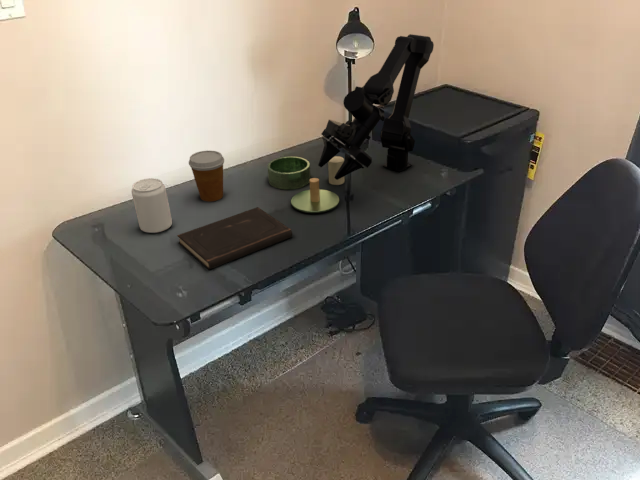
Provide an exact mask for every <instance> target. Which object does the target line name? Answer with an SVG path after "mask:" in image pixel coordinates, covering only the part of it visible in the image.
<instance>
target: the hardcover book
mask: <svg viewBox="0 0 640 480" xmlns="http://www.w3.org/2000/svg"><path fill="white" fill-rule="evenodd" d="M176 237H178V238H179V239H178V240H179V241H178V244H179V245H180V246H182V247H183V248H184V249H185V250H186V251H187V253H189V254H191V255H192V256H193V257H194V258H195V259H196V260H198V262H199V263H200V264H202V265H203V266H204V267H205V268H206V269H207V270H210V271H211V270H212V269H214V268H217V267H219V266H222V265H225V264H227V263H230V262H233V261H235V260H238V259H240V258H242V257H245V256H248V255H250V254H252V253H255V252H257V251H260V250H263V249H265V248H269V247H270V246H273V245H275V244H278V243H281V242H282V241H285V240H288V239H291V238H293V231H292V229H291V228H289V227H288V226H287V225H285V224H283V223H282V222H281V221H280V220H278V219H276V218H275V217H273V216H272V215H271V214H269V213H267V212H266V211H264V209H262V208H260V207H259V206H256V207H254V208H251V209H248V210H245V211H242V212H239V213H237V214H234V215H230V216H228V217H225V218H223V219H219V220H217V221H214V222H211V223H209V224H208V223H207V224H205V225H202V226H199V227H197V228H194V229H191V230H188V231H185V232H183V233H180V234H177V236H176Z"/></svg>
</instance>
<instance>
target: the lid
mask: <svg viewBox="0 0 640 480" xmlns="http://www.w3.org/2000/svg"><path fill="white" fill-rule="evenodd" d="M290 204H291V206H292V208H294V210H296V211H298V212H299V211H300V212H302V213H306V214H307V213H308V214H320V213H326V212H329V211H332V210H334V209H335V208H337V206H339V204H340V197H339V195H338V194H336V193H335V192H333V191H330V190H327V189H320V179H319V178H317V177H312V178H310V180H309V189H306V190H302V191H300V192H297V193H295V194H294V195H293V196H292V198H291V200H290Z"/></svg>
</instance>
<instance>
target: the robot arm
mask: <svg viewBox="0 0 640 480" xmlns="http://www.w3.org/2000/svg"><path fill="white" fill-rule="evenodd" d="M434 46H435V44H434V41H433V40H432V38H431V37H430V36H426V35H421V34H420V35H419V34H413V33H410V34H408V35H407V36H404V35H400V36H397V37H395V41H394V45H393V47H392V49H391V51H390V52H389V53H388V56H387V57H386V59H385V60H384V62H383V64H382V65H381V67H380V69H379V71H377V73H375V74H373V75H371V76H370V77H369V78H368V79H367V80H366V82H365V83H364V85H363V86H355V88H354V90H351V91H350V92H348V93H347V94H346V95H345V96H344V98H343V101H342V102H343V107H344V109H346V111H347V112H348V113H349V114H350V115H351V117H353V119H352V120H347V121H345V122H340V121H336V120H332V119H328V121H327V123H326V126H325V128H324V129H323V131H322V132H321V133H320V135H321V136H322V137H321V140H322V141H323V149H322V151H321V156H320V158H319V161H318V163H317V166H318V167H319V168H323V167H324V166H326V165H327V164H328V162H329V161H330V160H331V159H332V158H333V157H334V156H338V154H339V153H340V152H341V150H340V149H344V151H346V152H344V162H343V164H342V165H341V167H340V168H339V170H338V172H337V173H336V175H335V177H334V178H335V179H336V180H338V179H340V178H342V177H344V178H345V177H346V176H348V175H349V174H351V173H354V172H356V171H358V170H360V169H364V168H365V167H366V169H368V168H369V167H370V165H371V164H372V163H373V162H372V161H373V157H372V156H370V155H369V154H368V153H367V152H366V151H364V150H363V149H362V148H360V147H361V146H362V145H363V143H364V142H365V141H366V140H368V141H370V139H371V138H372V137H371V136H370V134H371V132H372V131H373V130H374V128H375V127H376V126H377V124H378V123H379V122H380V121H382V122H383V125H382V128H381V131H380V134H379V135H380V136H379V137H380V141H381V147H382V148H385V149H387V154H386V163H384V164H383V165H382V166H383V168H385V169H389V170H391V171H395V172H397V173H400V172H402V171H405V170H407V169H408V168H410V167H412V163H409V152H413V150H414V148H415V143H416V140H415V139H414V137H413V136H412V134H411V132H412V126H411V123H410V118H409V117H410V113H411V109H412V105H413V102H414V97H415V94H416V89H417V87H418V82H419V79H420V74H421V71H422V69H423V67H424V66H426V64H428V62H429V61H430V58H431V55H432V53H433V51H434V48H435V47H434ZM402 69H403V70H402ZM401 72H402V75H401V78H400V83H399V86H398V90H397V95H396V97H395V103H394V107H393V110H392V114H391V115H390V116H389V117H385V113H386V112H385V110H384V109H382V108H380V107H377V106H376V105H378V106H388V105H389V104H390V102H391V101H392V99H393V95H394V92H395V89H394V84H395V82H396V81H397V78H398V76H399V75H400V73H401Z"/></svg>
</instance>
